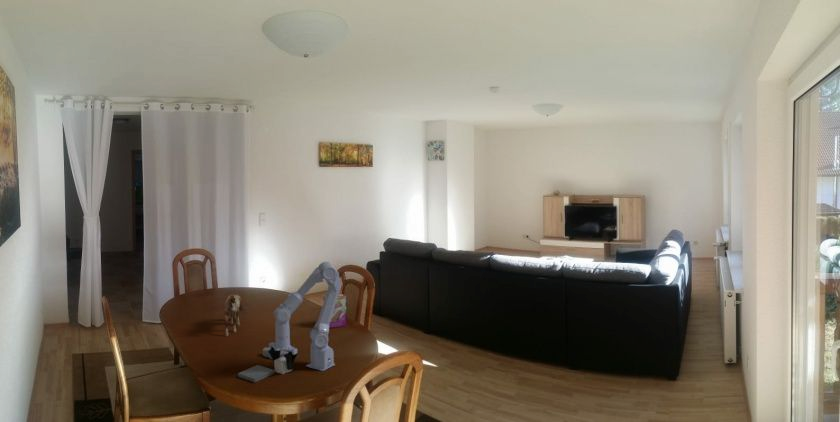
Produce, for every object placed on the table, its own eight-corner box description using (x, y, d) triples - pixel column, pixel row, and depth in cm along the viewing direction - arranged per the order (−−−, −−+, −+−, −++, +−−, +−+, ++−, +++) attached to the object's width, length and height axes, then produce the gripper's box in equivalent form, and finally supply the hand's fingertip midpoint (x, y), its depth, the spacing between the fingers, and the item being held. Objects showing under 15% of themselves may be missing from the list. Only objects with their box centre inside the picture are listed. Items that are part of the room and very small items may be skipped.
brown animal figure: (236, 338, 253) (235, 297, 251) (220, 339, 251) (218, 298, 249) (246, 319, 283) (245, 282, 281) (231, 320, 282) (230, 283, 280)
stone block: (296, 356, 234) (282, 347, 240) (296, 347, 233) (283, 338, 239) (274, 365, 225) (260, 356, 231) (274, 356, 224) (261, 346, 230)
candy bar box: (326, 329, 267) (326, 298, 265) (323, 326, 271) (323, 296, 270) (346, 326, 273) (346, 295, 271) (343, 323, 277) (343, 293, 275)
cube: (292, 370, 215) (291, 358, 214) (283, 374, 211) (282, 362, 210) (283, 367, 217) (283, 356, 217) (274, 371, 213) (274, 360, 213)
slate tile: (274, 373, 211) (274, 370, 211) (255, 382, 203) (255, 378, 202) (257, 368, 216) (257, 365, 216) (238, 376, 208) (237, 373, 208)
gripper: (262, 335, 213) (263, 367, 214) (288, 341, 205) (288, 374, 207) (275, 330, 219) (276, 361, 220) (300, 336, 211) (301, 368, 213)
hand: (283, 367), depth 214 cm, fingers open, 7 cm apart
